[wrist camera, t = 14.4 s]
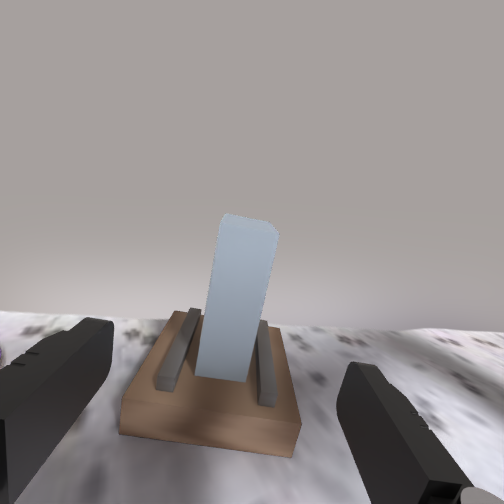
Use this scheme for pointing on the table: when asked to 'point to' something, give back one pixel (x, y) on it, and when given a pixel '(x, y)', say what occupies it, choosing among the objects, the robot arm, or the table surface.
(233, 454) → the table surface
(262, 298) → the light blue rectangular block
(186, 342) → the display stand
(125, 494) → the table surface
